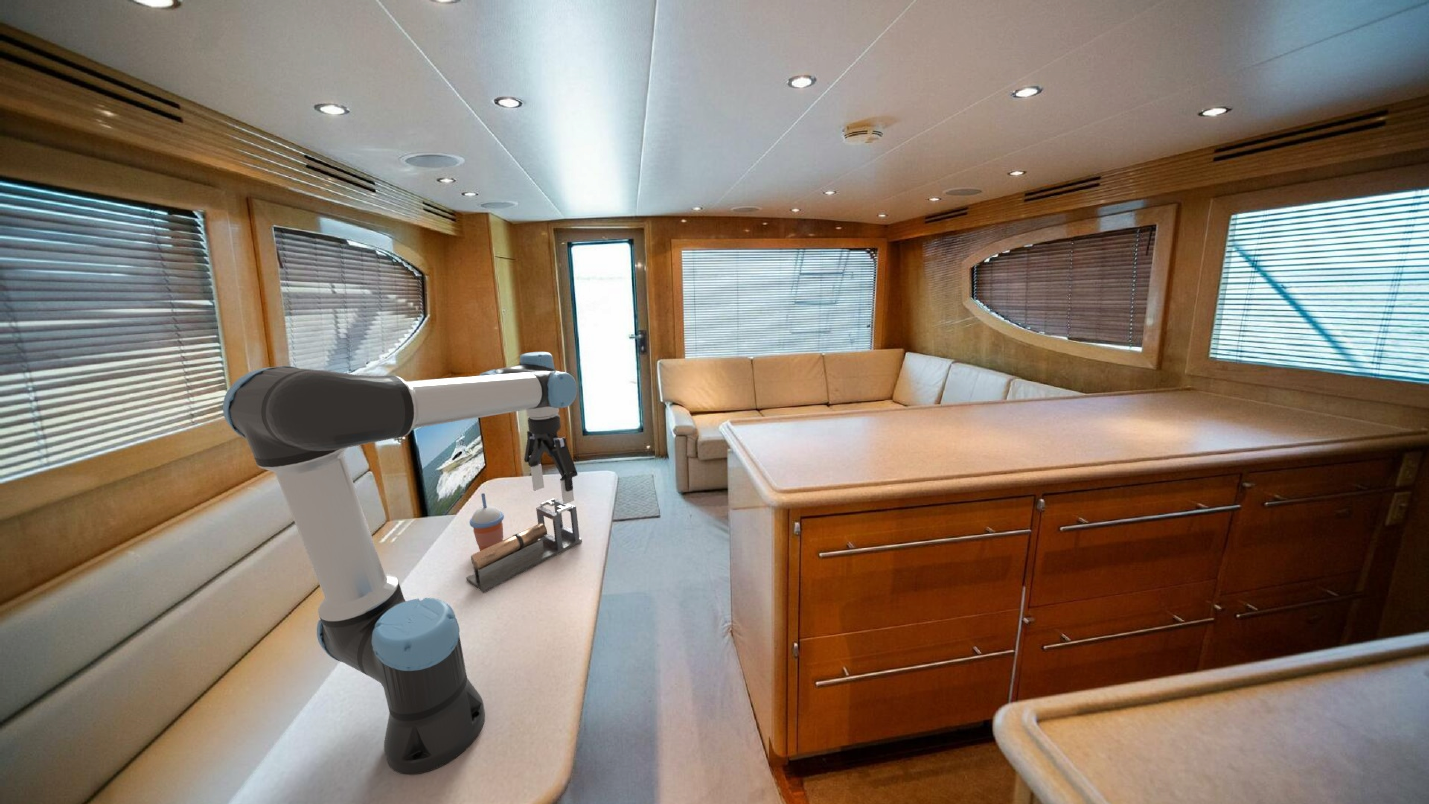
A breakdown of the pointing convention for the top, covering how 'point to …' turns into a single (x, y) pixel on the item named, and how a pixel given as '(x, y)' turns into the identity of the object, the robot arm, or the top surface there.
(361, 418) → the robot arm
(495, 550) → the tan wooden rod
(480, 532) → the cup with straw
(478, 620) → the top surface
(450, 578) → the top surface
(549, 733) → the top surface
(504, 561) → the collar rail
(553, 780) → the top surface
